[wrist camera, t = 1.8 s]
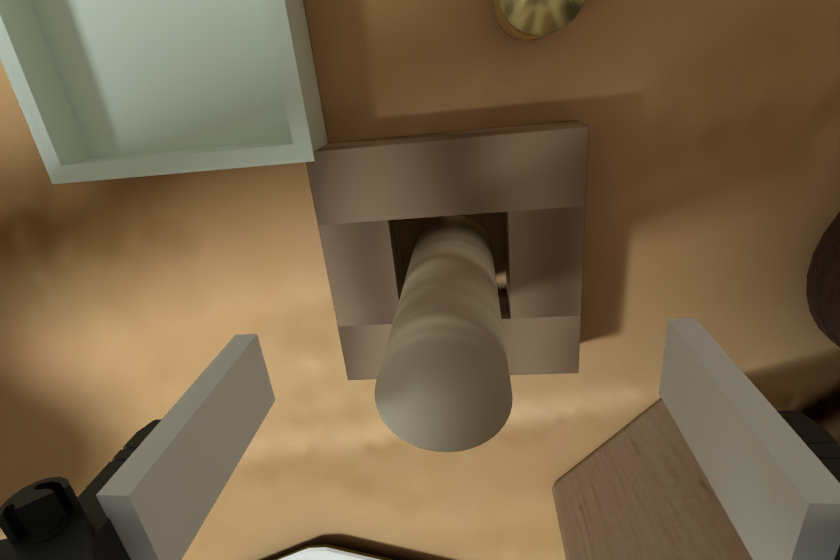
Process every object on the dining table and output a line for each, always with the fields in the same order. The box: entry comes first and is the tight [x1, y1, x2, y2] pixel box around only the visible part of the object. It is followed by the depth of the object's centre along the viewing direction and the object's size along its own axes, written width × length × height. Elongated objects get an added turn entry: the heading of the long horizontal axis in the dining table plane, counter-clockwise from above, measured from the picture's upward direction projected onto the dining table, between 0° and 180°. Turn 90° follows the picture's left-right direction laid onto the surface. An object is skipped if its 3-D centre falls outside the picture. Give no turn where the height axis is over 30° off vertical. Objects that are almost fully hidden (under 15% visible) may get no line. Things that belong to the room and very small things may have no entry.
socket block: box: [306, 120, 589, 380], centre depth 24 cm, size 12×12×2 cm
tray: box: [0, 0, 328, 184], centre depth 20 cm, size 13×13×2 cm
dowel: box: [375, 215, 512, 452], centre depth 19 cm, size 4×4×12 cm
